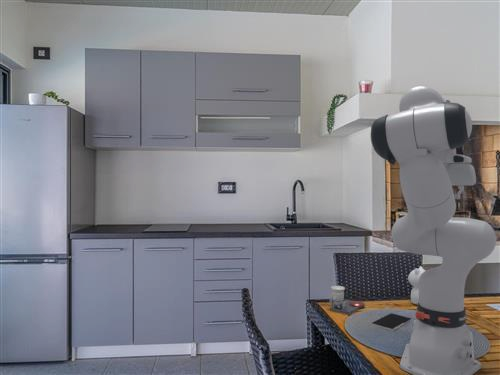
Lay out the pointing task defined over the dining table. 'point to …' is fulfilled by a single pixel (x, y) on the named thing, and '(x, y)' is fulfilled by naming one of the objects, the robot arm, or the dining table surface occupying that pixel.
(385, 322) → the smartphone
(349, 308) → the bayonet base
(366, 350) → the dining table surface
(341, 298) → the cap
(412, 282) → the cat figurine
